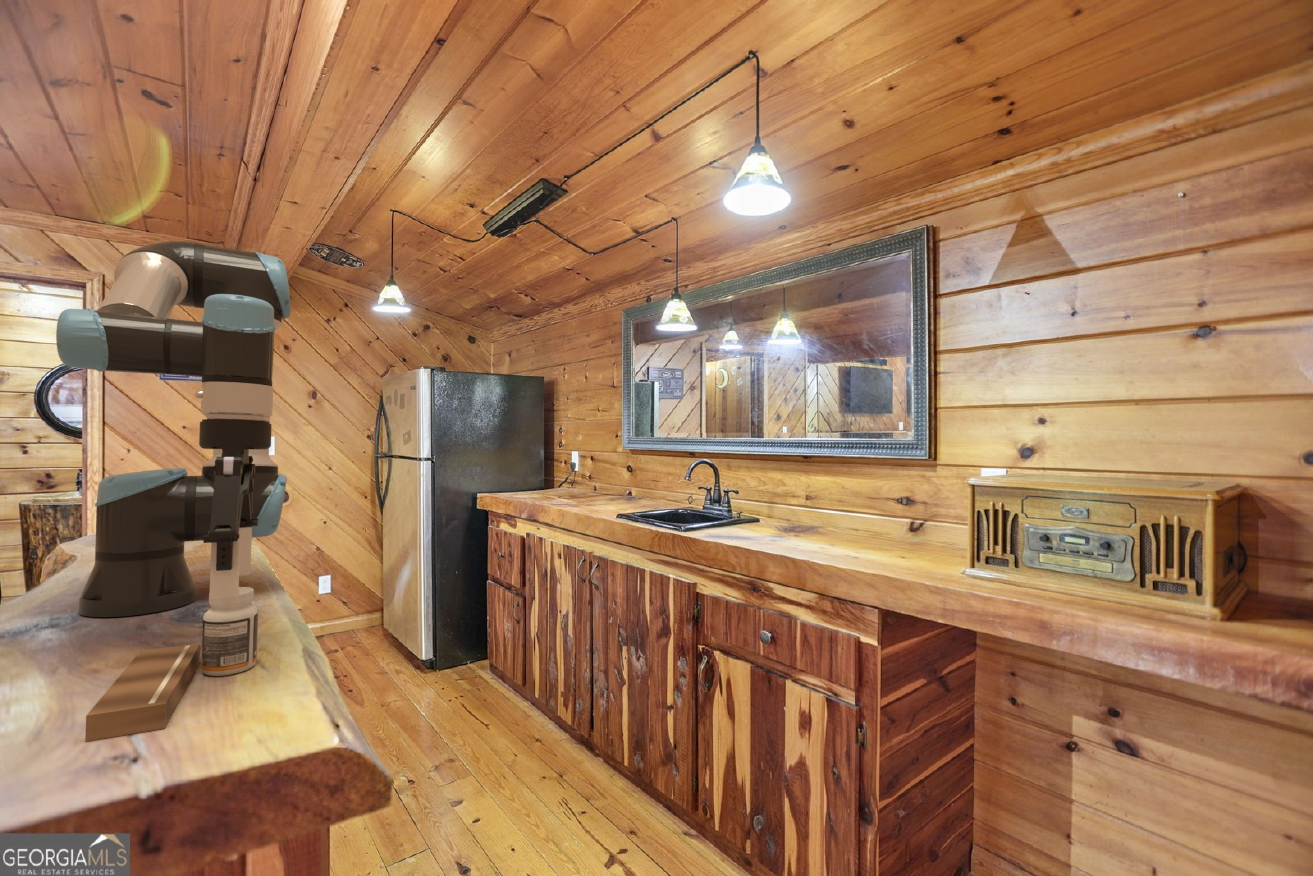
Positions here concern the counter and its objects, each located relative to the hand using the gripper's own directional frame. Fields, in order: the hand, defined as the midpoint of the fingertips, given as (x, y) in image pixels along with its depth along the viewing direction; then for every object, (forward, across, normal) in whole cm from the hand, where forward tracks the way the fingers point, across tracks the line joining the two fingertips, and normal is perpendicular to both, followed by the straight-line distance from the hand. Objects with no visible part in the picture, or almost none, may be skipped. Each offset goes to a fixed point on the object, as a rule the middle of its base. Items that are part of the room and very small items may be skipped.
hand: (231, 585), depth 76 cm
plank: (+11, +5, -7) cm, 14 cm away
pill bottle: (+11, -1, 0) cm, 11 cm away
